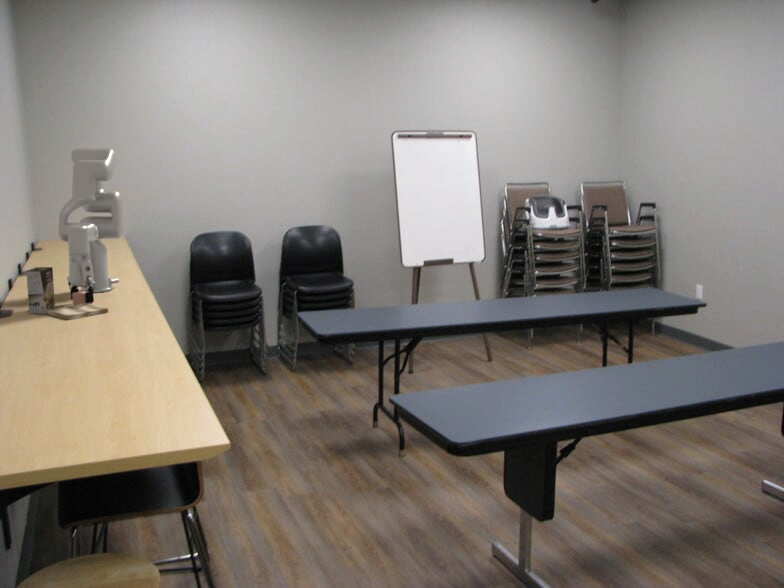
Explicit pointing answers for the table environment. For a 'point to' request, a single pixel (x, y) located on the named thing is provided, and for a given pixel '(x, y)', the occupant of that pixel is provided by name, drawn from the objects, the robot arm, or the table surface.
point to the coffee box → (40, 289)
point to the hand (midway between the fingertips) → (82, 300)
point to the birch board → (77, 311)
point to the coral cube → (79, 298)
